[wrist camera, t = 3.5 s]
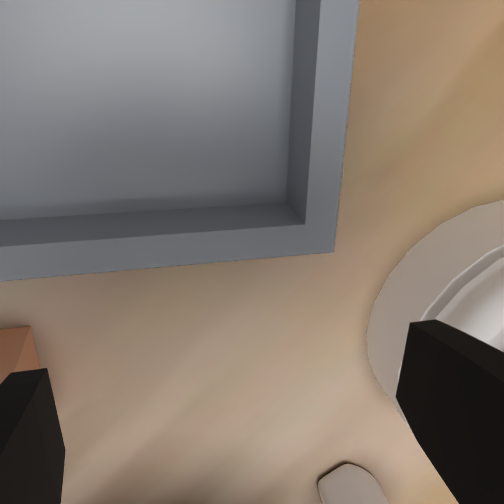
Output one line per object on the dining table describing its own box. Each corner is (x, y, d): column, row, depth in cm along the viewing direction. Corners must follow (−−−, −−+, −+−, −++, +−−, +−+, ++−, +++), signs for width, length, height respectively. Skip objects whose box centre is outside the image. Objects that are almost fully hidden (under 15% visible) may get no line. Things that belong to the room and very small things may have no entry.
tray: (-183, 258, 16) (-245, 302, 14) (-432, -316, 10) (-631, -437, 8) (307, 222, 20) (333, 252, 17) (339, -213, 14) (386, -270, 11)
